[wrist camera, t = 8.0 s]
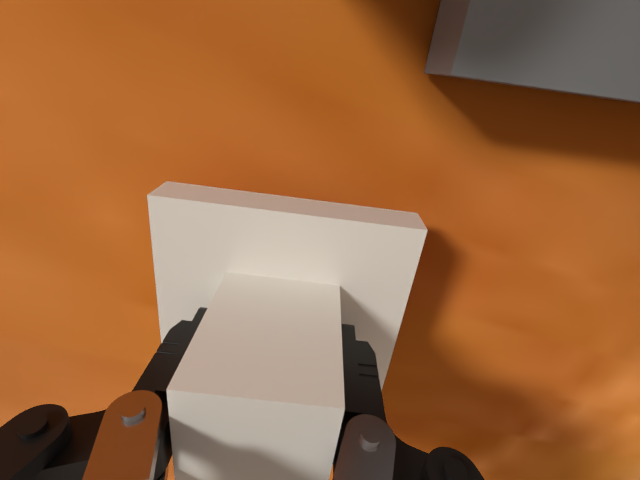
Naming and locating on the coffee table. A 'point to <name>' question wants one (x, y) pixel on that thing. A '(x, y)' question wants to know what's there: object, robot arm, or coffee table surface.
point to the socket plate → (541, 45)
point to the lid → (272, 321)
